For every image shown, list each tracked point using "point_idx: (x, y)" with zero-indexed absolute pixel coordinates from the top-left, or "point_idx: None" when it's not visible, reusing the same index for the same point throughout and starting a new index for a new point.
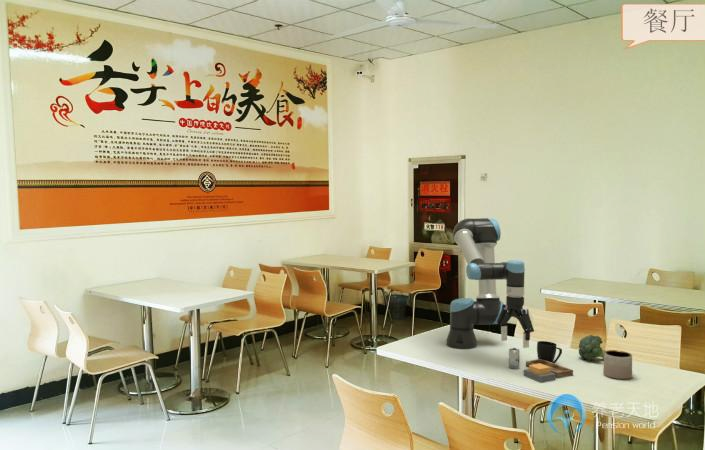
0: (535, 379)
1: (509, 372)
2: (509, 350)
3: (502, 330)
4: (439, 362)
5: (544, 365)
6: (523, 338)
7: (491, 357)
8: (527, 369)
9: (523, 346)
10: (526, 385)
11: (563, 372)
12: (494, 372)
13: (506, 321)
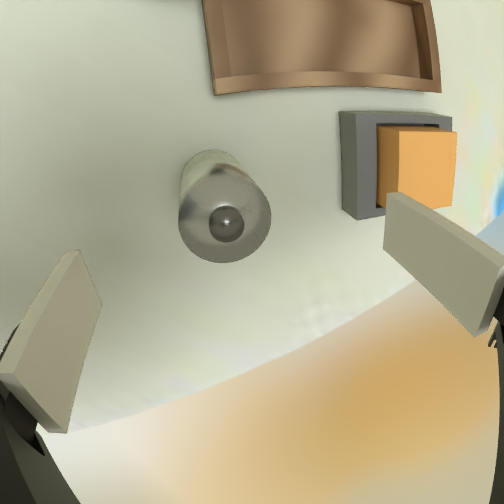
0: None
1: (277, 248)
2: (216, 260)
3: (76, 389)
4: (93, 414)
5: (432, 138)
6: (439, 294)
7: (15, 214)
8: (363, 198)
9: (394, 252)
10: None
11: (437, 54)
12: (250, 310)
13: (49, 485)
